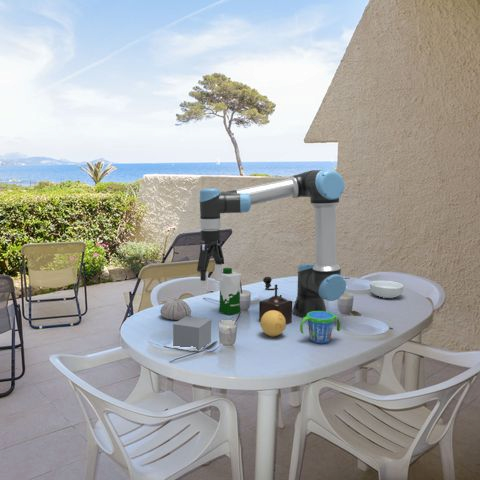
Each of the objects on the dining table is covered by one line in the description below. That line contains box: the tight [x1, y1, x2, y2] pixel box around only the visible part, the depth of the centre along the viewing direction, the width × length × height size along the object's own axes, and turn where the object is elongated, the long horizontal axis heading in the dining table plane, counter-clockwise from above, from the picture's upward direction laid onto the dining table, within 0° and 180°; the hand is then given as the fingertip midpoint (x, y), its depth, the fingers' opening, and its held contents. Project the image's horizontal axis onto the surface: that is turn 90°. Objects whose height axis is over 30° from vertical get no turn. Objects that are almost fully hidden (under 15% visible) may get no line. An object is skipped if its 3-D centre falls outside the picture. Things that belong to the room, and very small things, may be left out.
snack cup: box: [299, 311, 342, 344], centre depth 168 cm, size 16×10×10 cm
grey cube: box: [172, 316, 212, 353], centre depth 161 cm, size 10×10×9 cm
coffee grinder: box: [258, 276, 293, 325], centre depth 191 cm, size 16×11×18 cm
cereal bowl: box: [369, 280, 404, 299], centre depth 234 cm, size 17×17×7 cm
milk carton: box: [218, 267, 243, 316], centre depth 202 cm, size 9×9×20 cm
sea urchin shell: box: [159, 298, 192, 321], centre depth 194 cm, size 13×14×8 cm
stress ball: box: [259, 310, 287, 338], centre depth 172 cm, size 10×10×10 cm
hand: (211, 284), depth 170 cm, fingers open, 13 cm apart
